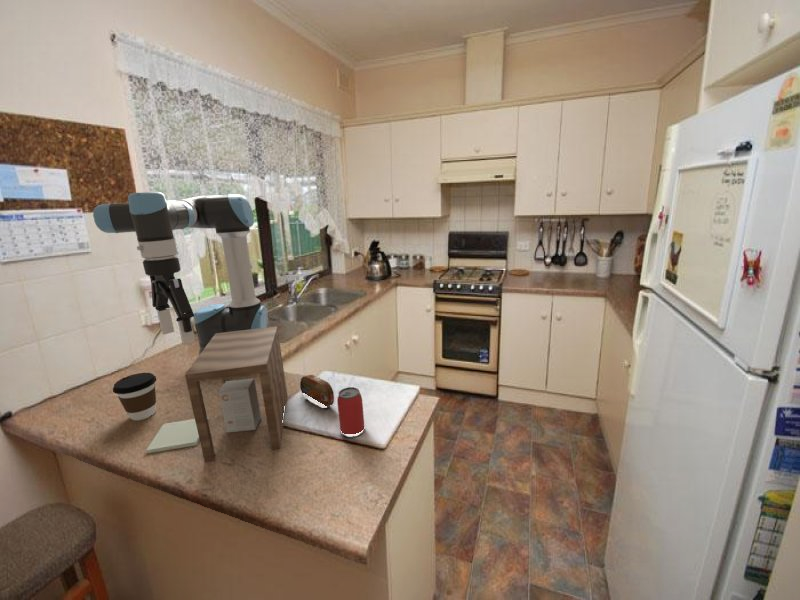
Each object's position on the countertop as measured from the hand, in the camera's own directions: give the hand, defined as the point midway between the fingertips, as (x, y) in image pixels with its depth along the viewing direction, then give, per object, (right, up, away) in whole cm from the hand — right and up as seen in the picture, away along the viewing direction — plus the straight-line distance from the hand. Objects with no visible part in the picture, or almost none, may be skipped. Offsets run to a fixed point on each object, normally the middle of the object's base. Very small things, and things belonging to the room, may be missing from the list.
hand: (178, 338), depth 96 cm
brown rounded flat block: (+32, -23, +20) cm, 44 cm away
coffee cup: (-21, -26, +17) cm, 38 cm away
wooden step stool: (+15, -26, +10) cm, 32 cm away
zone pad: (-3, -28, +6) cm, 29 cm away
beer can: (+45, -26, +4) cm, 52 cm away
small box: (+13, -26, +10) cm, 31 cm away
